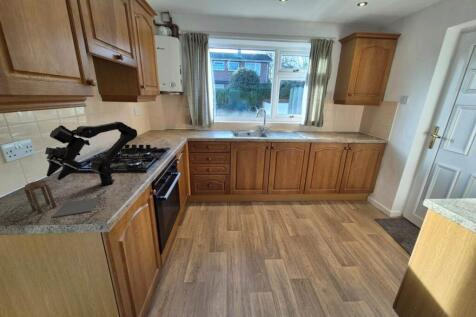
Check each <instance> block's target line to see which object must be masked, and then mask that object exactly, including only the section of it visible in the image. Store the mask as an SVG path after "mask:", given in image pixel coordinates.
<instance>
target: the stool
mask: <svg viewBox="0 0 476 317" xmlns="http://www.w3.org/2000/svg"><path fill="white" fill-rule="evenodd" d="M39 189H40V190H41V192H42V194H43V198H44V201H45V203H46V205H47V206H50V205H51V207H52V208H56V207H57V205H56V202H55V199H54V196H53V193H52V190H51V187H50V185H49V184H47V182H46V180H42V179H41V180H36V181H32V182H29V183H27V184H25V185H24V188H23V190H24V192H25V194H26V198H27V200H28V203H29V205H30V208H31V210H32V212H35V211H36V212H37V214H39V215H40V214H42V213H43V211H42V209H41V206H40V204H39V200H38V198H37V196H36V193H35V190H39Z"/></svg>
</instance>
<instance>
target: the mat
mask: <svg viewBox="0 0 476 317" xmlns="http://www.w3.org/2000/svg"><path fill="white" fill-rule="evenodd" d="M99 200H100V197H94V198H85V199H78V200H70V201H65V202H64V203H63V204H62V206H61V207H60V208H58V210H57V211H56V212H55V213H54V214H53V215H52V218H58V217H65V216H71V215H79V214H85V213H91V212H93V209H94V208H95V207H96V204H97V203H98V202H99Z"/></svg>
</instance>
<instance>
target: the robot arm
mask: <svg viewBox="0 0 476 317" xmlns="http://www.w3.org/2000/svg"><path fill="white" fill-rule="evenodd" d="M115 130H117V131H118V132H119V133H120V135H119V138H118V139H117V140H116V141H115V142H114V144H113V145H112V146H111V147H110V148H109V149H108V150H107V151H106V153H105V154H103V156H96V157H95V159H94V160H92V161H91V165H90V169H91V171H92V172H95V174H97V175H98V176H99V180H100V183H99V184H98V186H99V187H102V186H104V187H105V186H111V185H113V184H114V183H115V181H116V179H115V178H114V179H113V174H114V173H115V168H113V167H111V166H112V161H113V160H114V159H115V157H116V156H117V155H118V154H119V153H120V152H121V151H122V150H123V148H125V146H126V145H127V144H128V143H129V142H131V141H133V140H134V139H136V138H137V137H138V135H139V134H138V130H137V129H135V128H133V127H131V126H129V125H127V124H125V123H124V122H122V121H113V122H110V123H104V124H99V125H80V126H78V127H76V128H75V129H72V130H70V129H69V128H67V127H66V126H64V125H63V124H62V125H61V124H60V125H59V126H57V127H55V128H54V129H52V131H51V132H50V134H49V136H50V137H49V138H52V139H53V140H55V141H58V142H60V143H62V144H64V145H65V144H66V145H65V146H63V147H60V146H59V147H58V146H56V147H48V146H47V147H45V152H44V154H45V155H47V156H46V161H47V162H48V169H47V172H46V177H50V176H53V174H54V173H56V172H57V171H58V170H59V169H61V168H62V169H61V170H60V172H59V174H58V176H57V178H56V180H58V181H61V180H63V179H64V178H66V177H68V176H69V175H70V174H72V173H74V172H76V171H78V170H81V168H82V167H83V164H82V163H81V162H80V161H77V160H76V158H77V157H78V156H80V155H81V153H80V152H81V150H83V148H84V146H91V143H90V140H88V139H92V138H93V137H96V136H98V135H101V134H102V133H107V132H112V131H115Z"/></svg>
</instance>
